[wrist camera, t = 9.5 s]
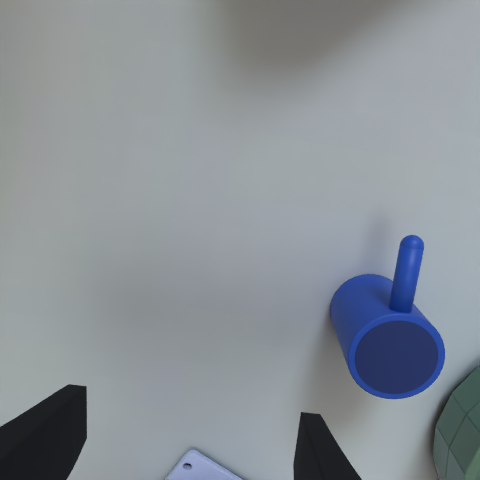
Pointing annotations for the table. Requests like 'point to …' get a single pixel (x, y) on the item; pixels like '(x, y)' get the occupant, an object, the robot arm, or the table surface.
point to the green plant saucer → (459, 433)
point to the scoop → (388, 329)
